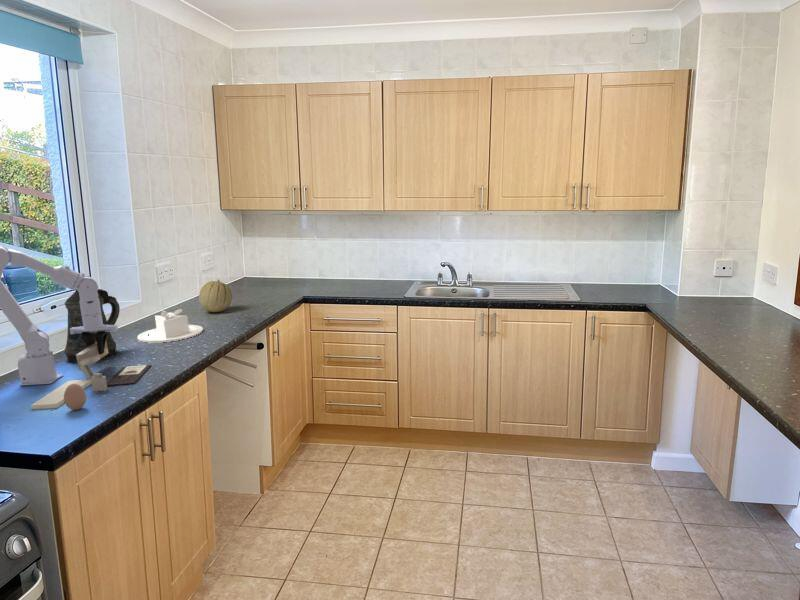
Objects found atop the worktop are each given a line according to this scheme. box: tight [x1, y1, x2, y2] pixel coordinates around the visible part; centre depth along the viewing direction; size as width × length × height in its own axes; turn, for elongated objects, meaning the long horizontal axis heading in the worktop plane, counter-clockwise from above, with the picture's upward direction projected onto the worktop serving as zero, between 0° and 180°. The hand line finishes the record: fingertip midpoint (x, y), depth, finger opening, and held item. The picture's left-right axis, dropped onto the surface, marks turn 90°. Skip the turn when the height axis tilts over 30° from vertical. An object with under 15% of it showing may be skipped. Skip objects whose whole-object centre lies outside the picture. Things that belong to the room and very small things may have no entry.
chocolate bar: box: [107, 364, 152, 388], centre depth 185 cm, size 9×1×18 cm
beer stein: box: [64, 288, 121, 364], centre depth 209 cm, size 16×19×25 cm
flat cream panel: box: [30, 378, 92, 410], centre depth 170 cm, size 7×20×1 cm, turn 2°
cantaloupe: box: [198, 279, 233, 313], centre depth 272 cm, size 15×15×15 cm
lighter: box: [80, 364, 109, 393], centre depth 173 cm, size 7×2×8 cm, turn 77°
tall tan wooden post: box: [76, 341, 108, 371], centre depth 189 cm, size 2×16×5 cm, turn 2°
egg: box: [64, 384, 87, 411], centre depth 158 cm, size 5×5×7 cm
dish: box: [137, 308, 204, 344], centre depth 234 cm, size 25×25×11 cm
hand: (97, 353), depth 192 cm, fingers closed on tall tan wooden post, 2 cm apart
